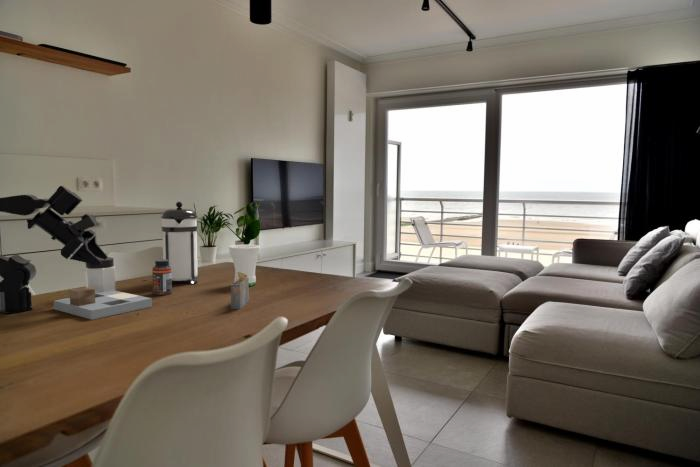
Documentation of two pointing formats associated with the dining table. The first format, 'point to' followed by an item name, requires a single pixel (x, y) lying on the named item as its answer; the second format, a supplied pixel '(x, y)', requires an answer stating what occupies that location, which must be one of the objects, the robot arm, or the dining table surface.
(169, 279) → the supplement bottle
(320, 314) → the dining table surface
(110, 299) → the trap deck
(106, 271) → the jar
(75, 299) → the walnut block
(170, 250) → the coffee press
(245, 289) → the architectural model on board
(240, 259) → the cup
